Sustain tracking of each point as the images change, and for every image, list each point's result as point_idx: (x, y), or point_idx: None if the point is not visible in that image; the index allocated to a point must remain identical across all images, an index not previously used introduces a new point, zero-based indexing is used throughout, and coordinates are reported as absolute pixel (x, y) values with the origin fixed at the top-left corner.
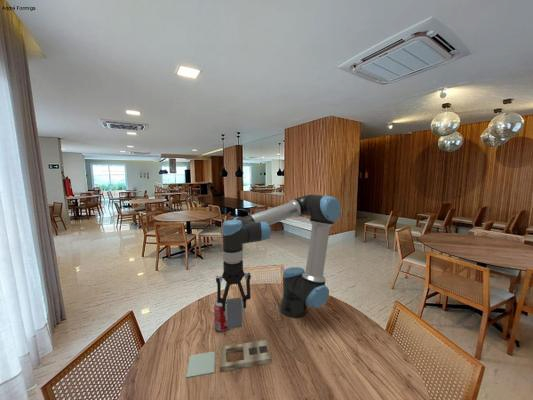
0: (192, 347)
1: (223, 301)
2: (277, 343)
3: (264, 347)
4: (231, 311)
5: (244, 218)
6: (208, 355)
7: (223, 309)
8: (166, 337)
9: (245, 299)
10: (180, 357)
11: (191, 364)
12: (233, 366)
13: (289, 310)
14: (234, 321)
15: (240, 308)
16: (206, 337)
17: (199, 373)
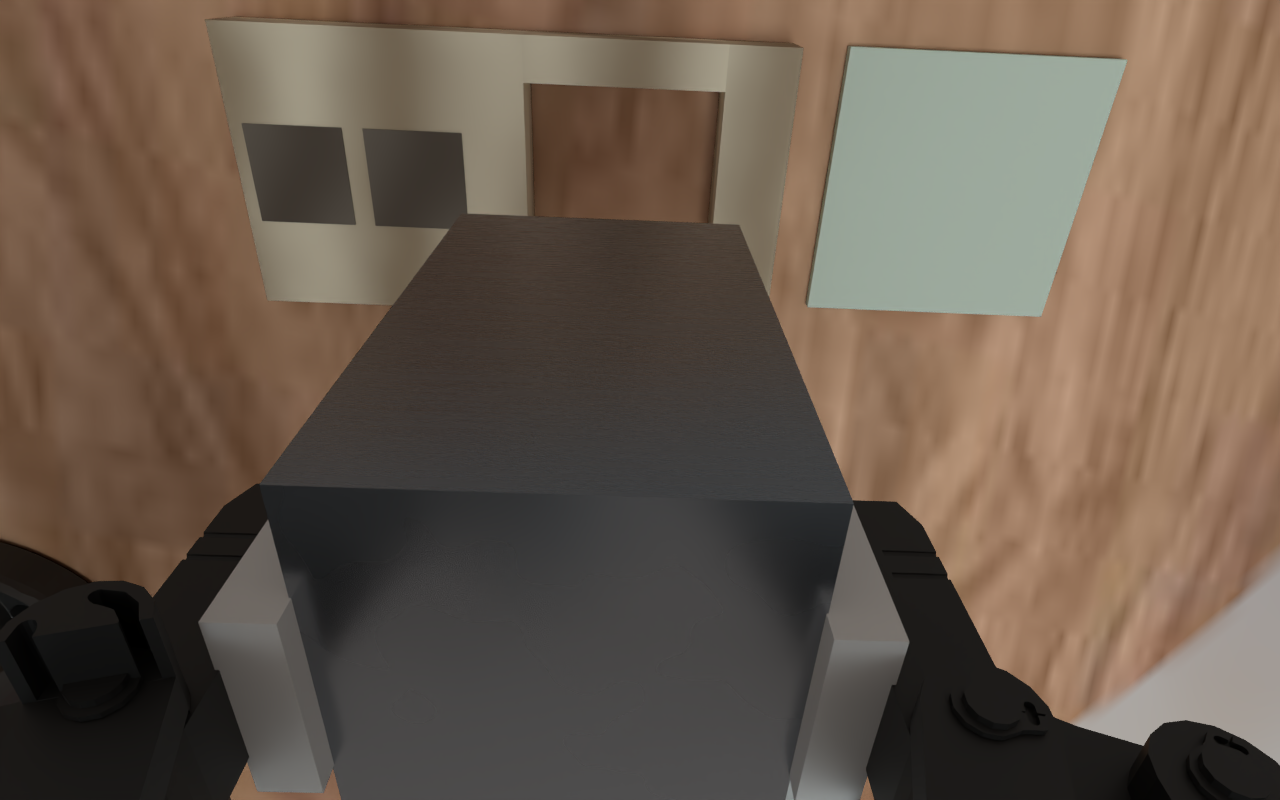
0: (997, 405)
1: (1017, 758)
2: (166, 263)
3: (287, 199)
4: (678, 393)
5: None
6: (874, 272)
7: (894, 534)
8: (1186, 556)
9: (46, 708)
10: (1120, 319)
11: (1048, 203)
12: (649, 38)
13: (7, 612)
14: (603, 264)
15: (359, 416)
16: (858, 486)
17: (994, 69)
